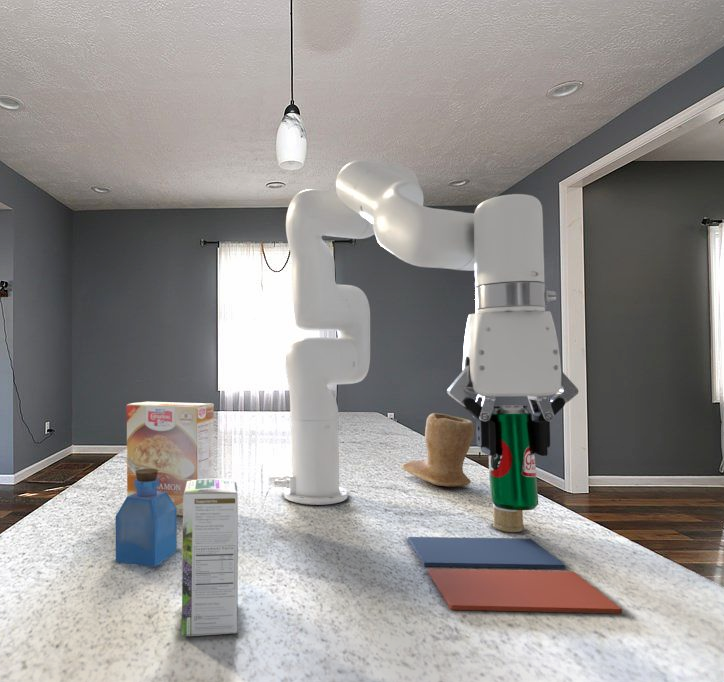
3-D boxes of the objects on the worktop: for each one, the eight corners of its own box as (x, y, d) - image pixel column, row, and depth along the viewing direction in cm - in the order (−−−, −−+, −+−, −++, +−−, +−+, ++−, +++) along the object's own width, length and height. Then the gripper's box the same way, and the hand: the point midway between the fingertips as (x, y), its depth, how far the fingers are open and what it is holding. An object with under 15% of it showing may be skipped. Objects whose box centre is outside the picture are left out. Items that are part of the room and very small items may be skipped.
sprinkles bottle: (529, 529, 84) (527, 444, 84) (513, 535, 82) (511, 447, 82) (502, 522, 88) (500, 441, 88) (486, 527, 85) (484, 443, 86)
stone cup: (486, 489, 109) (485, 416, 110) (433, 492, 107) (432, 418, 108) (448, 473, 124) (447, 409, 125) (400, 475, 122) (399, 410, 123)
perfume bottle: (176, 550, 77) (176, 467, 77) (155, 567, 71) (154, 477, 71) (139, 546, 79) (139, 465, 79) (115, 561, 73) (115, 474, 73)
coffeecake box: (125, 510, 97) (125, 404, 98) (147, 500, 104) (146, 400, 104) (197, 518, 92) (196, 406, 92) (215, 507, 98) (214, 402, 99)
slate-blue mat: (424, 566, 70) (424, 562, 70) (408, 540, 80) (408, 536, 80) (565, 568, 69) (565, 564, 69) (531, 541, 79) (530, 538, 79)
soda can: (537, 512, 59) (528, 404, 61) (488, 508, 62) (481, 405, 64) (540, 506, 63) (532, 405, 65) (494, 502, 66) (488, 406, 68)
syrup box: (184, 610, 59) (183, 479, 59) (237, 607, 59) (236, 477, 59) (181, 638, 53) (180, 492, 53) (240, 634, 53) (238, 490, 54)
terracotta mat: (451, 609, 58) (451, 605, 58) (428, 572, 68) (428, 568, 68) (622, 613, 57) (622, 609, 57) (573, 575, 67) (573, 571, 67)
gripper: (567, 303, 66) (571, 448, 66) (428, 305, 68) (431, 448, 67) (601, 296, 59) (606, 460, 59) (445, 299, 60) (449, 459, 60)
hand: (513, 452), depth 63 cm, fingers closed on soda can, 5 cm apart
